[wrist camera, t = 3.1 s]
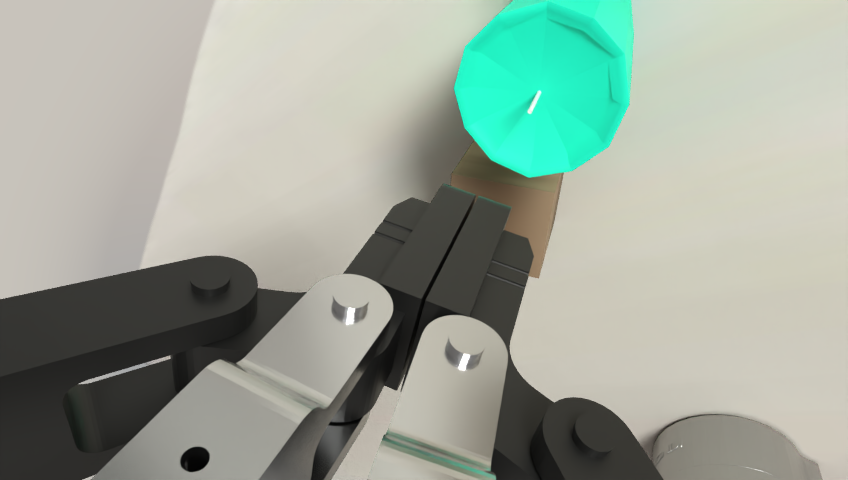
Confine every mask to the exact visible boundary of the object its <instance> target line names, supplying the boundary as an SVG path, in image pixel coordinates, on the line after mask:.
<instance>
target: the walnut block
mask: <svg viewBox="0 0 848 480" xmlns="http://www.w3.org/2000/svg"><path fill="white" fill-rule="evenodd" d="M563 174H564V172H563V173H556V174H550V175H543V176H537V177H531V178H528V177H526V176H524V175H522V174H520V173H518V172H515V171H513V170H511V169H509V168H507V167H505V166H503V165H500V164H498V163H496V162H494V161H492V160H491V159H490V158H489V157H488V156H487V155H486V153H485V152H484V151H483V150H482V149H481V147H480V146H479V145H478V144H477V142H476V141H475V140H474V141H473V143H472V144H471V146H470V147H469V149H468V150H467V152H466V153H465V155H464V156H463V158H462V159H461V161H460V162H459V164H458V165H457V167H456V168H455V170H454V171H453V173H452V174H451V186H452V187H455V188H458V189H461V190H464V191H466V192H469V193H472V194H475V195H476V200H477V198H478V196H481V197H484V198H487V199H490V200H493V201H496V202H498V203H501V204H504V205H507V206H510V207H512V209H511V212H510V214H509V217H508V220H507V223H506V226H505V229H504V230H506V231H509V232H511V233H514V234H517V235H520V236H523V237H526V238H528V240H529V243H530V246H531V249H532V252H533V255H534V258H533V262H532V265H531V269H530V272H529V275H528V276H531V277H535V278H539V275H540V272H541V268H542V264H543V261H544V257H545V253H546V250H547V246H548V242H549V239H550V235H551V231H552V228H553V224H554V220H555V215H556V210H557V205H558V199H559V194H560V189H561V184H562V179H563ZM476 200H475V202H476Z"/></svg>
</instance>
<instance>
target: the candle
mask: <svg viewBox="0 0 848 480" xmlns="http://www.w3.org/2000/svg"><path fill="white" fill-rule="evenodd" d="M633 39H634V31H633V19H632V7H631V0H513V1H512V2H511V3H510V4H509V5H508V6H507V7H505V8H504V9H503V10H502V11H501V12H500V13H499V14H498V15H497V16H496V17H495V18H494V19H493V20H492V21H491V22H490V23H489V24H488V25H487V26H485V27H484V28H483V29H482V30H481V31H480V32H479V33H478V34H477V35H476V36H475V37H474V38H473V39H472V40H471V41H470V42H469V43H468V44H467V45H466V46H465V49H464V53H463V57H462V60H461V64H460V68H459V71H458V75H457V78H456V82H455V86H454V91H455V95H456V98H457V102H458V106H459V109H460V113H461V117H462V120H463V124H464V128H465V129H466V130H467V131H468V133H469V134H470V135H471V136H472V138H473V139H474V140H475V141H476V142H477V144H478V145H479V146H480V147H481V149H482V150H483V151H484V152H485V153H486V155H487V156H488V157H489V158H490V159H491V160H492V161H494V162H496V163H498V164H500V165H503V166H505V167H507V168H509V169H511V170H513V171H515V172H518V173H520V174H522V175H524V176H526V177H528V178H531V177H537V176H543V175H550V174H556V173H563V172H569V171H573V170H575V169H576V168H578V167H579V166H581V165H582V164H584V163H585V162H587V161H588V160H590V159H591V158H593V157H594V156H596V155H597V154H599V153H600V152H602V151H603V150H605V149H606V148H608V147H609V145H610V143H611V141H612V139H613V137H614V135H615V133H616V131H617V129H618V127H619V125H620V123H621V121H622V118H623V116H624V114H625V112H626V110H627V108H628V106H629V102H630V86H631V71H632V55H633Z"/></svg>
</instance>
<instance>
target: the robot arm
mask: <svg viewBox="0 0 848 480" xmlns="http://www.w3.org/2000/svg"><path fill="white" fill-rule="evenodd" d="M475 200H476V195H475V194H472V193H469V192H466V191H464V190H461V189H458V188H455V187H452V186H449V185H446V184H443V185H442V186H441V187H440V189H439V191H438V192H437V194H436V195H435V197H434V198H433V200H432V201H431V203H430V204H429V203H427V202H424V201H421V200H418V199H415V198H410V199H408V200H405V201H403V202H401V203H399V204H397V205H395V206H394V207H393V208H392V209H391V211H390V212H389V213H388V215H387V216H386V217H385V219H384V220H383V223H381V224H380V225H379V227H378V228H377V229H376V231H375V233H374V234H373V235H372V236H371V237H370V239H369V240H368V241H367V243H366V244H365V245H364V247H363V248H362V249H361V251H360V252H359V253H358V255H357V256H356V257H355V259H354V260H353V261H352V263H351V264H350V265H349V267H348V268H347V269H346V271H345V272H344V273H343V274H338V275H333V276H329V277H326V278H324V279H322V280H320V281H318V282H317V283H316V284H315V285H314V286H313V287H312V288H311V289H310V290H309V291H308V292H302V293H294V292H284V291H276V290H268V289H260V288H258V283H257V278H256V275H255V273H254V272H253V271H252V269H251V268H249V267H248V266H247V265H246V264H244V263H243V262H240V261H238V260H236V259H233V258H229V257H224V256H203V257H197V258H193V259H188V260H183V261H179V262H174V263H169V264H164V265H160V266H155V267H150V268H146V269H141V270H136V271H132V272H127V273H122V274H118V275H113V276H109V277H104V278H99V279H94V280H90V281H85V282H80V283H76V284H71V285H66V286H61V287H57V288H52V289H47V290H43V291H38V292H33V293H28V294H24V295H19V296H14V297H10V298H5V299H0V480H82V479H85V478H88V477H90V476H92V475H95V474H96V475H95V476H94V477H93V478H92V479H91V480H331V479H332V478H333V476H334V474H335V473H336V471H337V469H338V468H339V466H340V465H341V463H342V461H343V460H344V458H345V456H346V455H347V453H348V452H349V450H350V448H351V447H352V445H353V443H354V442H355V440H356V438H357V437H358V435H359V434H360V432H361V430H362V429H363V427H364V425H365V424H366V422H367V420H368V418H369V414H370V410H371V409H372V407H373V406H374V404H375V403H376V401H377V399H378V397H379V395H380V393H381V391H382V389H383V387H384V386H387V387H389V388H392V389H394V390H397V389H398V387H399V385H400V383H401V381H402V379H403V377H404V375H405V377H404V381H403V384H402V388H401V394H400V397H399V400H398V403H397V406H396V408H395V411H394V414H393V417H392V419H391V422H390V425H389V428H388V430H387V433H386V435H384V436H383V439H382V441H381V444H380V446H379V449H378V451H377V454H376V457H375V460H374V462H373V465H372V468H371V471H370V473H369V476H368V479H367V480H822V476H821V473H820V469H819V466H818V464H817V463H815V462H812V461H810V460H808V459H806V458H804V457H803V456H802V455H801V454H800V453H799V452H798V450H797V449H796V447H795V446H794V444H793V443H792V442H791V441H789V440H788V439H787V438H786V437H785V436H784V435H783V434H781V433H779V432H778V431H776V430H774V429H772V428H771V427H769V426H766V425H764V424H761V423H759V422H756V421H753V420H749V419H745V418H741V417H735V416H726V415H704V416H698V417H692V418H688V419H685V420H682V421H679V422H677V423H675V424H673V425H671V426H670V427H668V428H666V429H665V430H664V431H663V432H662V433H661V434H660V435H659V436H658V438H657V440H656V442H655V443H654V448H653V463H652V462H651V460H650V459H649V457H648V456H647V454H646V453H645V451H644V450H643V448H642V447H641V445H640V444H639V442H638V441H637V439H636V438H635V437H634V435H633V434H632V432H631V431H630V429H629V428H628V427H627V425H626V424H625V423H624V422H623V421H622V420H621V419H620V418H619V417H618V416H617V415H616V414H614V413H613V412H612V411H611V410H609V409H607V408H606V407H604V406H603V405H600V404H598V403H596V402H594V401H591V400H588V399H583V398H574V397H572V398H564V399H561V400H558V401H557V402H555V403H554V402H552V401H551V400H549V399H548V398H547V397H545V396H544V395H543V394H541V393H540V392H538V391H537V390H536V389H534V388H533V387H532V386H531V385H529V384H528V383H527V382H526V381H525V380H524V379H523V377H522V376H521V375H520V374H519V372H518V371H517V369H516V368H515V366H514V364H513V361H512V359H511V355H510V347H509V345H510V340H511V336H512V333H513V329H514V325H515V322H516V318H517V315H518V311H519V308H520V304H521V301H522V297H523V294H524V289H525V286H526V283H527V279H528V275H529V272H530V269H531V265H532V262H533V258H534V255H533V252H532V249H531V246H530V243H529V240H528V238H526V237H523V236H520V235H517V234H514V233H511V232H509V231H506V230H504V229H505V226H506V223H507V220H508V217H509V214H510V212H511V209H512V207H510V206H507V205H504V204H501V203H498V202H496V201H493V200H490V199H487V198H484V197H481V196H478V198H477V200H476V202H475ZM169 355H170V356H171V359H169V360H166V361H162V362H159V363H156V364H152V365H149V366H146V367H142V368H139V369H136V370H132V371H129V372H126V373H123V374H119V375H116V376H113V377H109V378H106V379H103V380H99V381H96V382H93V383H89V384H79V383H81V382H83V381H85V380H88V379H92V378H95V377H98V376H102V375H105V374H108V373H112V372H115V371H118V370H122V369H125V368H129V367H132V366H135V365H138V364H142V363H146V362H149V361H152V360H156V359H159V358H162V357H166V356H169Z"/></svg>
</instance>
